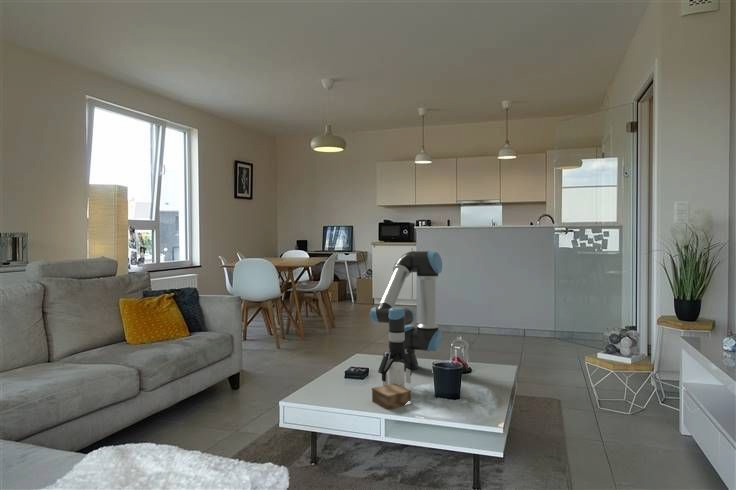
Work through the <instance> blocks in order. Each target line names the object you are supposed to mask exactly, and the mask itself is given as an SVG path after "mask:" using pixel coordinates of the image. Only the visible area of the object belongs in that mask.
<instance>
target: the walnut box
mask: <svg viewBox="0 0 736 490" xmlns="http://www.w3.org/2000/svg"><path fill="white" fill-rule="evenodd" d="M371 391H372V392H371V395H372V397H371V399H372V400H371V402H372V403H374V404H375V405H378V406H379V407H382V408H384V409H386V410H388V411H389V410H392V409H393V410H394V409H397V408H402V407H405V406H404V405H405V404H406V403H407V402H408V401H410V400H411V401H412V397H411V396H412V395H411V394H412V390H411V389H410V388H407V387H405V388H404V387H402V386H399V385H397V384H389V385H384V386H383V385H381V386H376V387H372V388H371Z"/></svg>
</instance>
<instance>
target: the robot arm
mask: <svg viewBox="0 0 736 490" xmlns="http://www.w3.org/2000/svg"><path fill="white" fill-rule="evenodd" d="M442 260H443V259H442V257H441V255H440V254H439V252H437V251H432V250H431V251H430V250H427V251H425V250H423V251H419V250H418V251H415V250H413V251H409V252H406V253H405V254H403V255H402V256H401V257H399V259H397V261H396V262H395V263H394V265H393V268H392V274H391V277H390V279H389V282H388V283H387V286H386V288H385V290H384V292H383V294H382V296H381V298H380V301H379V303H378V305H377V306H374V307H372V308H371V309H370V312H369V319H370V320H371V322H373V323H379V324H381V323H382V324H388V349H389V352H387V351H384V352H383V356H382V359H381V362H380V365H379V367H378V370H377V373H379V374H380V375H381V381H382V386H384V385H388V374H387V372H388V370H389V368H390V367H391V365H392V363H393V362H401V363H404V371H405V382H406V383H407V384H411V383H412V381H411V380H412V379H411V377H412V375H413V374H412V373H413V372H412V371H413V370H417V369H418V368H419V362H418V359H417V356H416V350H417V351H422V352H423V351H425V352H432V353H433V352H437V351H438V350H439V349H440V348H441V345H442V340H443V332H442V331H441V330H440V329H439V325H438V324H437V323H436V303H437V302H436V299H437V298H436V289H437V288H436V286H437V285H436V280H437V278H438V277H439V274H441V273H442V270H443V261H442ZM411 273H416V276H417V278H418V279H419V323H418V324H417V325H416V326H415V324H412V323H414V321H415V320H416V313H415V311H414V310H413V309H412V308H403V307H397V306H396V307H395V304H396V302H397V300H398V297H399V295H400V293H401V290H402V288H403V287H404V284H405V281H406V279H407V278H408V277H409V276H410V274H411Z"/></svg>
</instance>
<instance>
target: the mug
mask: <svg viewBox="0 0 736 490" xmlns="http://www.w3.org/2000/svg"><path fill="white" fill-rule="evenodd" d="M386 374H388V385H389V384H397V385H399V386H402V387H404V388H406V387H405V370H404V363H401V362H393V363H392V365H391V367H390V368H389V370H388V372H387V373H386Z"/></svg>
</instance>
